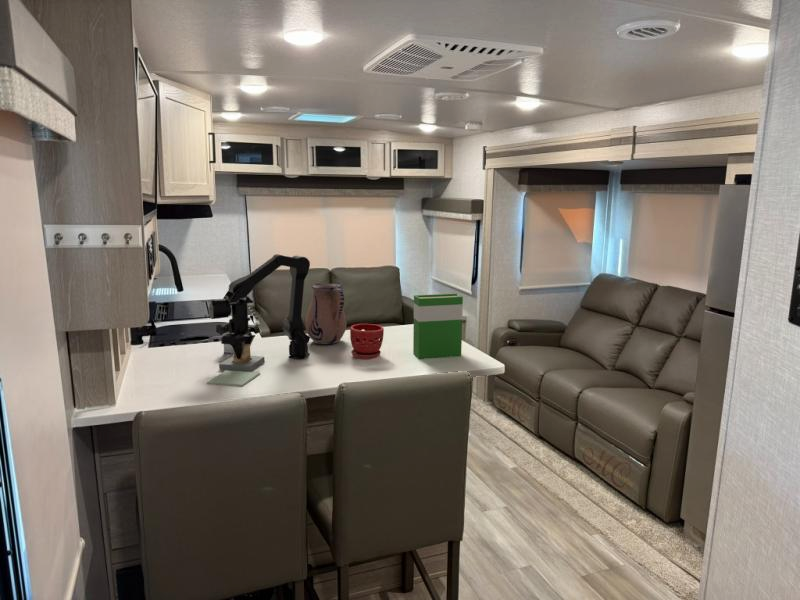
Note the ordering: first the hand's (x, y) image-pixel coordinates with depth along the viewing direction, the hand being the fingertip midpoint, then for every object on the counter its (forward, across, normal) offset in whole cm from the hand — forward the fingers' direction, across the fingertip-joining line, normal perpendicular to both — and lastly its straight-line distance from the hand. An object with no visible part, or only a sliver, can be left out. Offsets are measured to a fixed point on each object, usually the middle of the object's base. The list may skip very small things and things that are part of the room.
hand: (242, 356), depth 202 cm
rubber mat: (+4, +14, +4) cm, 15 cm away
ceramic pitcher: (+4, -38, +21) cm, 44 cm away
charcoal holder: (+4, 0, 0) cm, 4 cm away
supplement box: (+4, -16, -12) cm, 20 cm away
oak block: (+4, 0, 0) cm, 4 cm away
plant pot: (+4, -22, +42) cm, 48 cm away
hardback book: (+4, -29, +69) cm, 75 cm away
